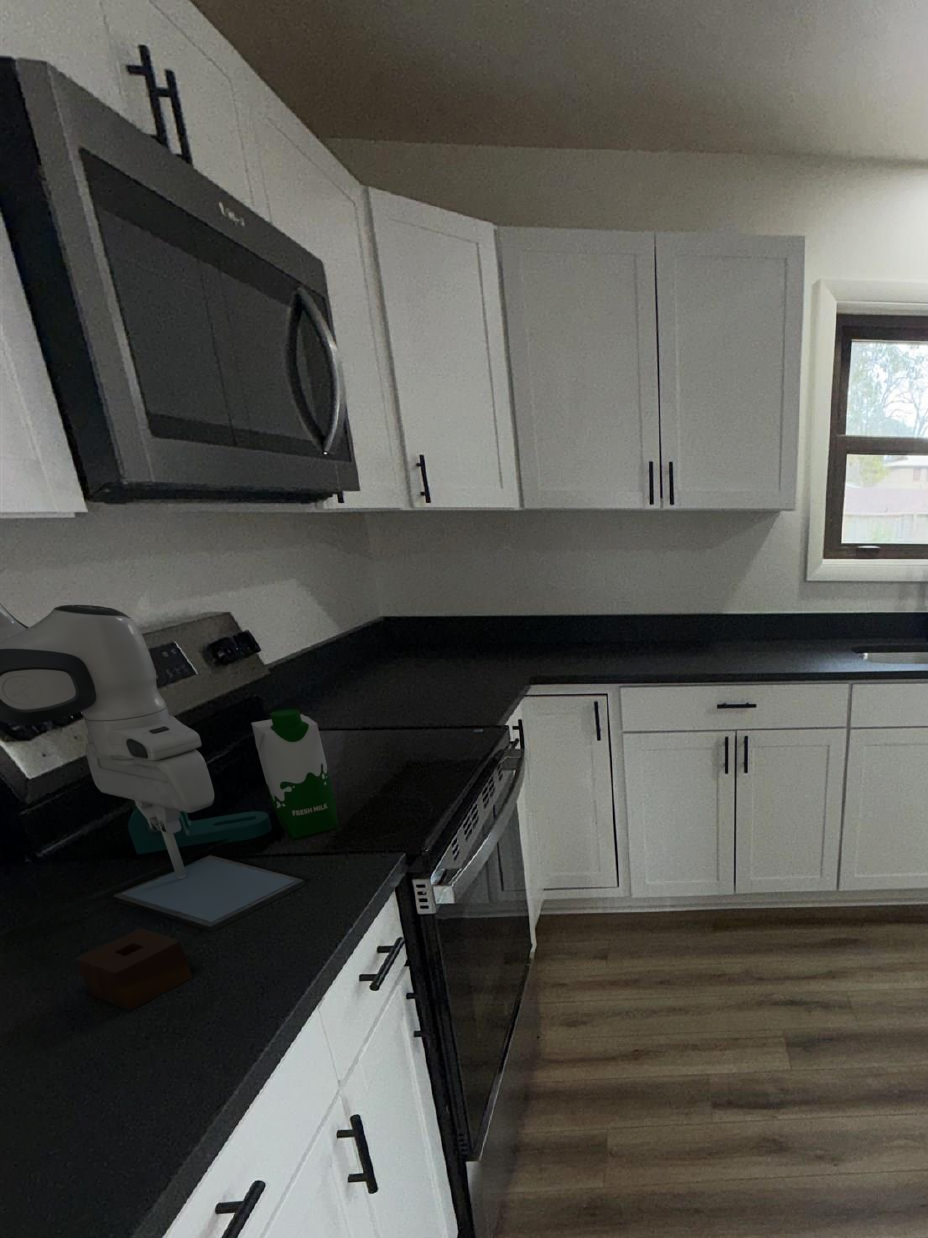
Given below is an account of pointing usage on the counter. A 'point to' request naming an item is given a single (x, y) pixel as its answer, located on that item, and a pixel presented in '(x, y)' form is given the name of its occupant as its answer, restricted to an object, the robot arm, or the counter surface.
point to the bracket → (198, 830)
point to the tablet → (210, 892)
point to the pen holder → (134, 968)
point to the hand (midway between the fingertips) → (166, 830)
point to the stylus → (172, 848)
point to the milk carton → (296, 773)
